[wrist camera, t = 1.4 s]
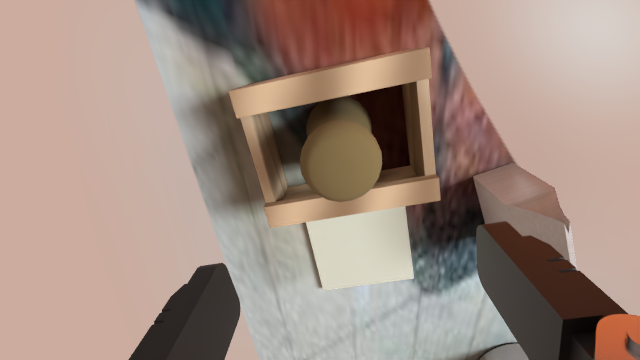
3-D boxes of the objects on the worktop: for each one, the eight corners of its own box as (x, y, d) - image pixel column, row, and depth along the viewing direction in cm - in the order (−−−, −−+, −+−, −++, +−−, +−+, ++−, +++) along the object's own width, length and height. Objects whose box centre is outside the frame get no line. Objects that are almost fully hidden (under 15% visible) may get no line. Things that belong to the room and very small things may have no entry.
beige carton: (487, 233, 32) (550, 306, 23) (472, 176, 30) (536, 231, 20) (525, 221, 31) (605, 292, 22) (512, 162, 29) (596, 213, 20)
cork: (344, 172, 30) (349, 233, 20) (293, 135, 29) (270, 179, 19) (385, 123, 28) (415, 162, 18) (332, 81, 27) (331, 97, 17)
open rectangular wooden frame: (407, 49, 26) (429, 47, 20) (419, 171, 30) (440, 200, 24) (251, 83, 27) (228, 91, 21) (282, 195, 31) (270, 228, 25)
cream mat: (402, 193, 30) (404, 195, 30) (412, 274, 34) (413, 278, 33) (303, 209, 32) (303, 212, 31) (323, 286, 35) (323, 290, 35)
